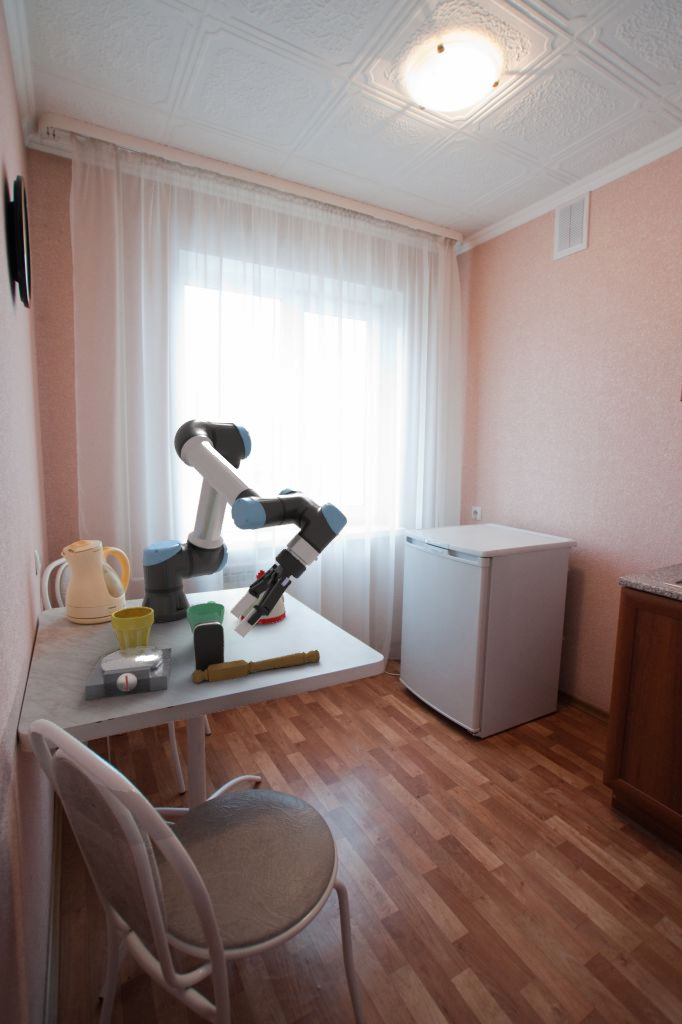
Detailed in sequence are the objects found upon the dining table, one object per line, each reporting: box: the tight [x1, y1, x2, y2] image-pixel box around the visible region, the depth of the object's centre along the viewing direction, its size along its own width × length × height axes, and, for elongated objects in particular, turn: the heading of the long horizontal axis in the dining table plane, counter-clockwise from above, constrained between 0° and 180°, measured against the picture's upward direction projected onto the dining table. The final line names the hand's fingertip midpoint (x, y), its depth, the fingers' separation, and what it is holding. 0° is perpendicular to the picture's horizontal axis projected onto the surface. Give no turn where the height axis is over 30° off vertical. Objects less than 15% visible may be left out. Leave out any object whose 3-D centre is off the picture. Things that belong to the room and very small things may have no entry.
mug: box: [186, 600, 225, 634], centre depth 130 cm, size 15×10×10 cm
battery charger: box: [192, 621, 225, 672], centre depth 113 cm, size 7×4×11 cm, turn 110°
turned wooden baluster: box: [191, 649, 321, 684], centre depth 112 cm, size 3×3×30 cm
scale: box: [84, 645, 173, 701], centre depth 109 cm, size 16×16×5 cm
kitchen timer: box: [240, 569, 286, 625], centre depth 150 cm, size 14×14×15 cm
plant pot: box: [110, 606, 155, 650], centre depth 126 cm, size 10×10×10 cm
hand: (236, 623), depth 113 cm, fingers open, 13 cm apart
